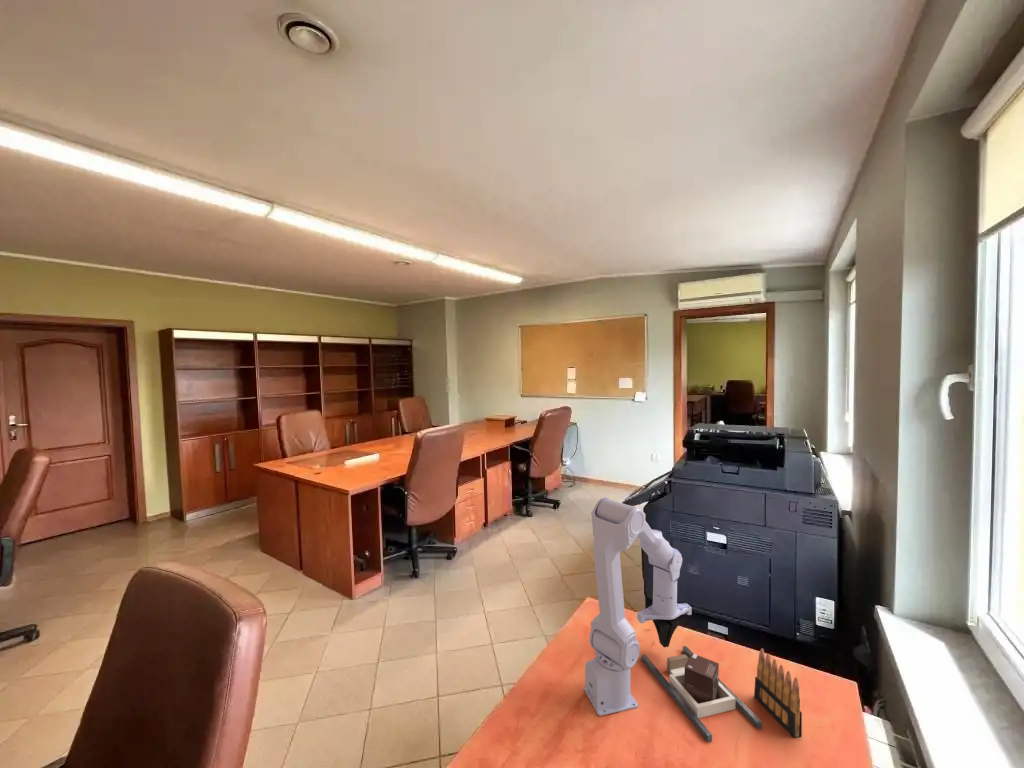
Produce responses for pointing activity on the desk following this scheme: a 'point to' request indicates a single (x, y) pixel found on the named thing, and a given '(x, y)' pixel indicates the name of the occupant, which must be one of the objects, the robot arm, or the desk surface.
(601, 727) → the desk surface
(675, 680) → the frame
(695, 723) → the track
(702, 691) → the box
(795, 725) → the ammunition clip
